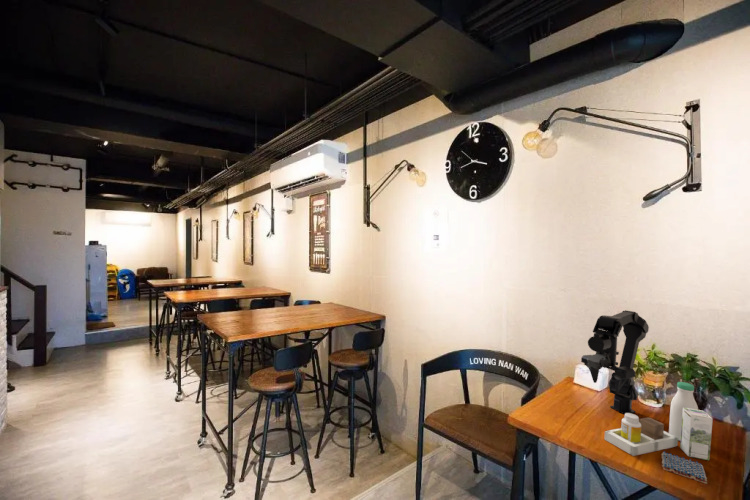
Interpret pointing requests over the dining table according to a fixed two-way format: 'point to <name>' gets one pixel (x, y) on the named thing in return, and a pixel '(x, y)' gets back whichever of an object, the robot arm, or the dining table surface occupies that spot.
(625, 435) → the supplement bottle
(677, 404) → the milk bottle
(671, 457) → the woven mat
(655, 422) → the walnut block
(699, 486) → the dining table surface
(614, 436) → the grey divided tray
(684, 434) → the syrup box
